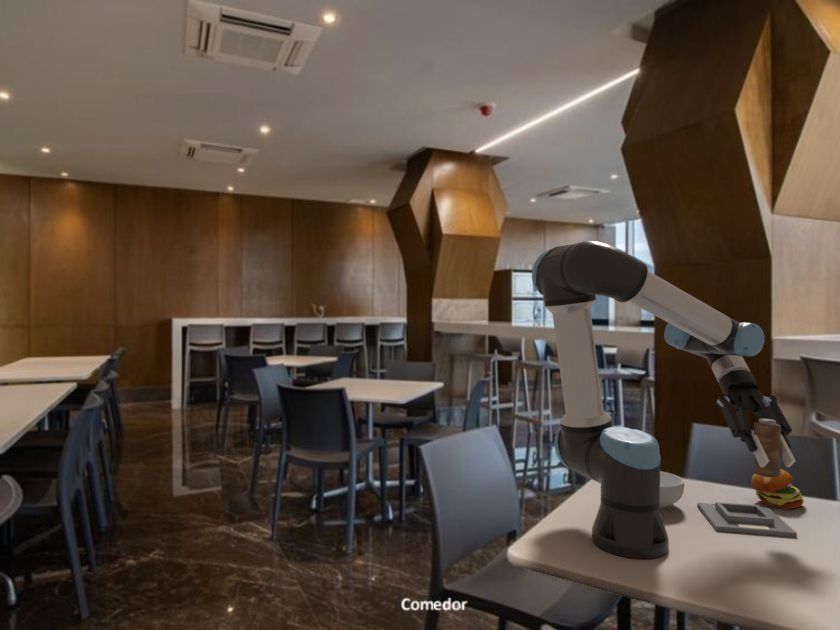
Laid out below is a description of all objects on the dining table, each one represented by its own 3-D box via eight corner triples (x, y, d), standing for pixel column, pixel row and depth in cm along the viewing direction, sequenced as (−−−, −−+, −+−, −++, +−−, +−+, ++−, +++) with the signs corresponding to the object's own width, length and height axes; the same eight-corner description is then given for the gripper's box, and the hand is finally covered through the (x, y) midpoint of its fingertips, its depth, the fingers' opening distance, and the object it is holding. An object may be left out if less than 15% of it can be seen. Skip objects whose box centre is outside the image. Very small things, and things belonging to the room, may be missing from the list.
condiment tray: (716, 530, 124) (716, 519, 124) (697, 506, 139) (697, 496, 139) (796, 537, 120) (796, 525, 120) (768, 511, 136) (768, 501, 136)
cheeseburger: (814, 512, 135) (803, 472, 136) (767, 519, 137) (757, 480, 138) (795, 498, 145) (785, 460, 145) (751, 505, 147) (742, 468, 148)
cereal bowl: (672, 495, 148) (672, 469, 148) (693, 518, 131) (694, 488, 131) (606, 492, 150) (606, 466, 150) (619, 514, 134) (619, 485, 134)
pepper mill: (758, 476, 121) (758, 421, 121) (750, 469, 126) (750, 417, 125) (784, 478, 120) (784, 423, 119) (775, 471, 124) (775, 418, 124)
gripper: (763, 386, 138) (810, 472, 122) (692, 387, 138) (729, 472, 121) (778, 367, 132) (828, 454, 116) (703, 368, 132) (743, 455, 116)
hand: (777, 463), depth 119 cm, fingers closed on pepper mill, 5 cm apart
